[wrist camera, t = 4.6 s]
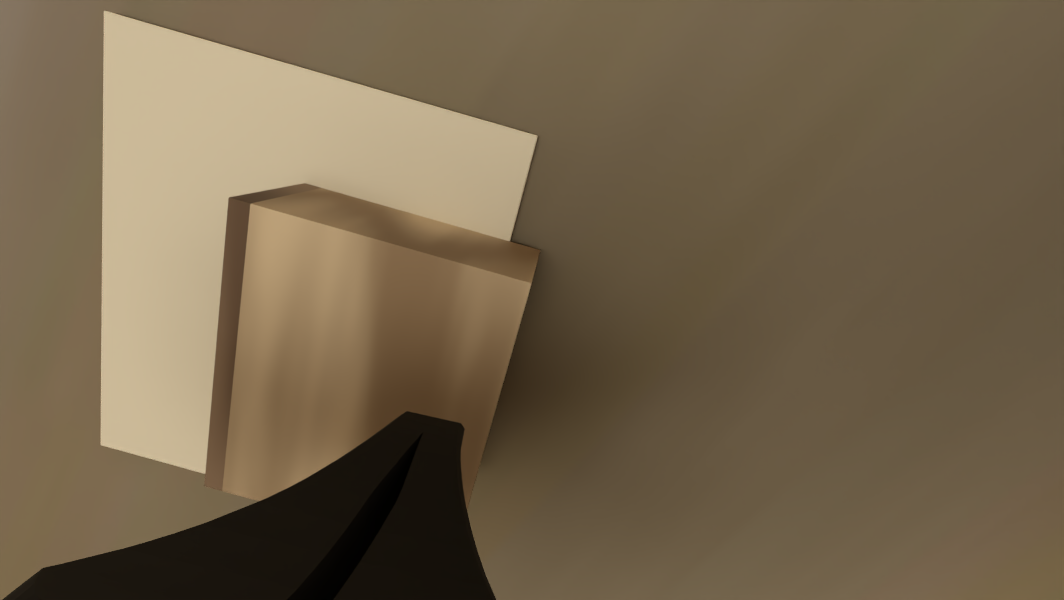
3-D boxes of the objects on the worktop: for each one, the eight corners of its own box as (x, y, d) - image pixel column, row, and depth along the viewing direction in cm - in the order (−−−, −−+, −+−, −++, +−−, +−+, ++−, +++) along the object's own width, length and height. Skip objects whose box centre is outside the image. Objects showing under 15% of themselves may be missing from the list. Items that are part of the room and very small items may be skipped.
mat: (538, 135, 14) (537, 135, 14) (434, 528, 19) (431, 536, 18) (116, 13, 14) (104, 10, 14) (110, 438, 19) (100, 444, 18)
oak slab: (531, 283, 12) (228, 197, 12) (454, 554, 14) (204, 485, 14) (540, 249, 15) (304, 183, 15) (476, 474, 18) (274, 418, 17)
